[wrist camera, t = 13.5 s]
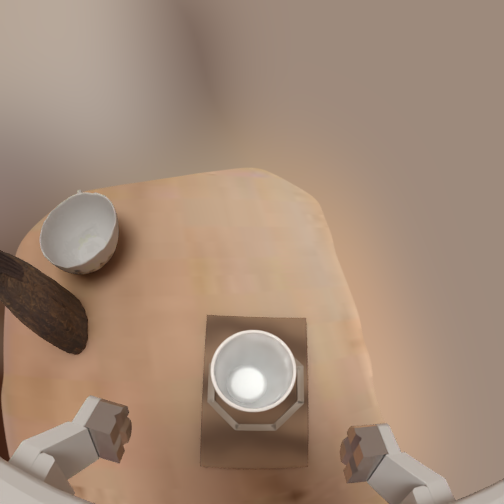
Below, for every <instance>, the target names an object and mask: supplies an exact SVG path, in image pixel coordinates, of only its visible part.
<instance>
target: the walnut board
mask: <svg viewBox="0 0 504 504" xmlns="http://www.w3.org/2000/svg"><path fill="white" fill-rule="evenodd" d="M246 330H261V331H265V332H268V333H271V334H273V335H275V336H277V337H278V338H280V339H281V340H282V341H283V342H284V343H285V344H286V345H287V346H288V347H289V349H290V350H291V352H292V354H293V356H294V359H295V363H296V380H295V383H294V386H293V388H292V390H291V392H290V394H289V395H288V396H287V398H286V399H285V400H284V401H283V402H281V403H280V404H279V405H277V406H276V407H274V408H272V409H269V410H266V411H263V412H258V413H247V412H241V411H238V410H236V409H233V408H232V407H230V406H228V405H227V404H226V403H225V402H223V401H222V400H221V398H220V397H219V396H218V394H217V393H216V391H215V389H214V387H213V384H212V380H211V372H210V369H211V362H212V358H213V356H214V353H215V351H216V350H217V348H218V347H219V346H220V344H221V343H222V342H223V341H224V340H226V339H227V338H228V337H230V336H232V335H233V334H236V333H238V332H241V331H246ZM200 466H201V467H214V468H234V469H276V468H297V467H308V365H307V333H306V318H269V317H238V316H217V315H207V325H206V340H205V356H204V374H203V394H202V419H201V452H200Z"/></svg>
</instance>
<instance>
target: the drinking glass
mask: <svg viewBox="0 0 504 504" xmlns="http://www.w3.org/2000/svg"><path fill="white" fill-rule="evenodd" d="M210 372H211V380H212V384H213V387H214V389H215V391H216V393H217V394H218V396H219V397H220V398H221V400H222V401H223V402H225V403H226V404H227V405H228V406H230V407H232V408H233V409H236V410H238V411H241V412H247V413H258V412H263V411H266V410H269V409H272V408H274V407H276V406H277V405H279V404H280V403H281V402H283V401H284V400H285V399H286V398H287V396H288V395H289V394H290V392H291V390H292V388H293V386H294V383H295V380H296V363H295V359H294V356H293V354H292V352H291V350H290V349H289V347H288V346H287V345H286V344H285V343H284V342H283V341H282V340H281V339H280V338H278V337H277V336H275V335H273V334H271V333H268V332H265V331H261V330H246V331H241V332H238V333H236V334H233V335H232V336H230V337H228V338H227V339H226V340H224V341H223V342H222V343H221V344H220V346H219V347H218V348H217V350H216V351H215V353H214V356H213V358H212V362H211V369H210Z"/></svg>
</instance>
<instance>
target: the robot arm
mask: <svg viewBox="0 0 504 504" xmlns="http://www.w3.org/2000/svg"><path fill="white" fill-rule="evenodd" d="M128 413H129V411H128V407H127V406H125V405H122V404H118V403H115V402H111V401H108V400H105V399H101V398H98V397H94V396H91V395H90V396H89V397H87V399H86V400H85V402H84V403H83V405H82V406H81V408H80V410H79V411H78V413H77V414H76V416H75V418H74V419H73V421H72V422H69V421H68V422H66V423H63V424H61V425H59V426H57V427H54V428H52V429H50V430H48V431H45V432H43V433H40V434H38V435H36V436H33V437H31V438H28V439H26V440H24V441H22V442H21V444H20V445H19V447H18V448H17V450H16V451H15V453H14V454H13V456H12V457H11V459H10V460H9V462H7V461H5V460H3V459H2V458H0V504H95V503H92V502H89V501H87V500H84V499H82V498H79V497H77V496H74V494H75V492H74V489H73V488H72V486H71V485H70V483H69V482H68V479H69V478H71V477H72V476H74V475H76V474H77V473H79V472H80V471H82V470H83V469H85V468H86V467H87V466H89V465H90V464H92V463H93V462H95V461H96V460H98V459H99V457H100V458H103V459H106V460H110V461H113V462H117V463H120V461H121V459H122V456H123V454H124V451H125V450H124V446H123V445H124V444H126V443H128V441H129V439H130V436H131V430H132V426H131V420H130V419H129V418H128V417H127V416H128ZM347 435H348V437H347V438H345V439H344V440H343V442H342V444H341V448H340V458H341V462H342V463H344V464H345V465H346V467H345V469H344V474H345V478H346V482H347V483H355V482H365V481H367V483H368V484H369V485H370V486H371V487H372V488H373V489H374V490H375V491H376V492H377V493H378V494H380V495H381V496H382V497H383V498H384V499H385V500H386V501H387V502H388V503H389V504H504V479H502V480H500V481H498V482H496V483H494V484H493V485H490V486H488V487H486V488H484V489H482V490H479V491H477V492H475V493H473V494H470V495H468V496H466V497H463V498H461V499H458V500H455V498H454V496H453V494H452V492H451V490H450V488H449V485H448V483H447V481H446V480H445V478H444V477H442V476H440V475H439V474H437V473H436V472H434V471H433V470H431V469H429V468H428V467H426V466H424V465H423V464H422V463H420V462H419V461H417V460H416V459H414V458H412V457H411V456H410V455H408V454H407V453H405V452H401V451H400V448H399V446H398V444H397V442H396V439H395V437H394V435H393V433H392V431H391V428H390V426H389V425H388V424H387V423H385V424H375V425H374V424H373V425H362V426H351V427H350V428H349V429H348V431H347Z"/></svg>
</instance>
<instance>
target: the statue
mask: <svg viewBox="0 0 504 504" xmlns="http://www.w3.org/2000/svg"><path fill="white" fill-rule="evenodd" d="M0 300H1V301H2V302H3V304H4V305H5V306H6V307H7V308H8V309H9V310H10V311H11V312H12V313H13V315H15V316H16V318H18V319H19V320H20V321H21V322H22V323H23V324H24V325H26V326H27V327H28V328H29V329H31V330H32V331H33V332H35V333H36V334H37V335H38V336H40V337H41V338H43V339H45V340H46V341H48V342H49V343H51V344H53V345H54V346H56V347H58V348H59V349H61V350H63V351H66V352H67V353H73V354H79V353H80V352H81V350H82V349H84V348H85V346H86V341H87V338H88V337H87V321H88V320H87V317H86V315H85V310H84V308H83V307H82V305H81V303H80V301H79V300H78V299H77V298H76V297H75V296H74V295H73V294H72V293H70V292H69V291H68V290H66V289H65V288H64V287H62V286H61V285H60V284H58V283H57V282H56V281H55V280H53V279H52V278H50V277H48V276H46V275H45V274H44V273H42V272H41V271H40V270H38V269H37V268H35V267H33V266H32V265H30V264H28V263H27V262H25V261H23V260H21V259H19V258H17V257H15V256H13V255H11V254H8V253H5V252H3V251H1V250H0Z"/></svg>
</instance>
